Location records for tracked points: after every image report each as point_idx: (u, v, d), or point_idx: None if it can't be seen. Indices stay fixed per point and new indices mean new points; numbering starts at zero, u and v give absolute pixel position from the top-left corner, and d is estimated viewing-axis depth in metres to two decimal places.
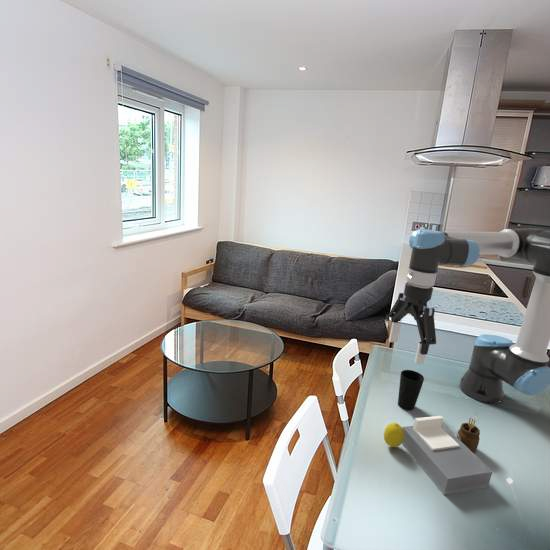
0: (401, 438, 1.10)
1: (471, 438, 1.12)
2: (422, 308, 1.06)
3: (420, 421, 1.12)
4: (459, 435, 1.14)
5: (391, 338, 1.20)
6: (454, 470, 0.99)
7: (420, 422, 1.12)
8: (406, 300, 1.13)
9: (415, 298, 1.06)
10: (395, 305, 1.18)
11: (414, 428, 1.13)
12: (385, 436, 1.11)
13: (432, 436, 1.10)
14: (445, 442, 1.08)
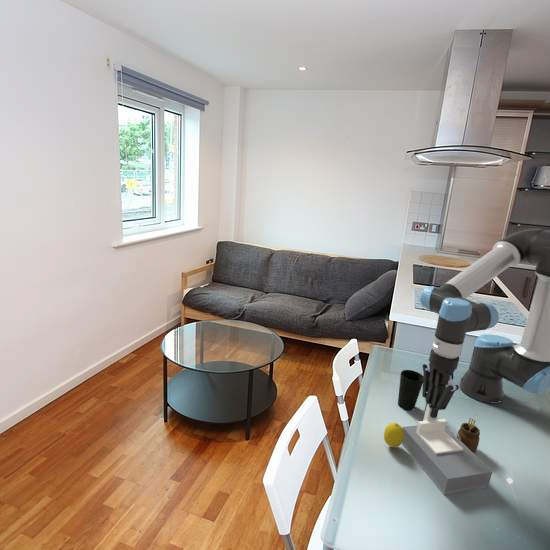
0: (401, 438, 1.10)
1: (471, 438, 1.12)
2: (448, 378, 1.05)
3: (423, 424, 1.11)
4: (459, 435, 1.14)
5: (426, 420, 1.13)
6: (454, 470, 0.99)
7: (423, 425, 1.11)
8: (431, 366, 1.11)
9: (441, 368, 1.05)
10: (424, 380, 1.14)
11: (417, 431, 1.12)
12: (385, 436, 1.11)
13: (435, 440, 1.09)
14: (449, 446, 1.07)
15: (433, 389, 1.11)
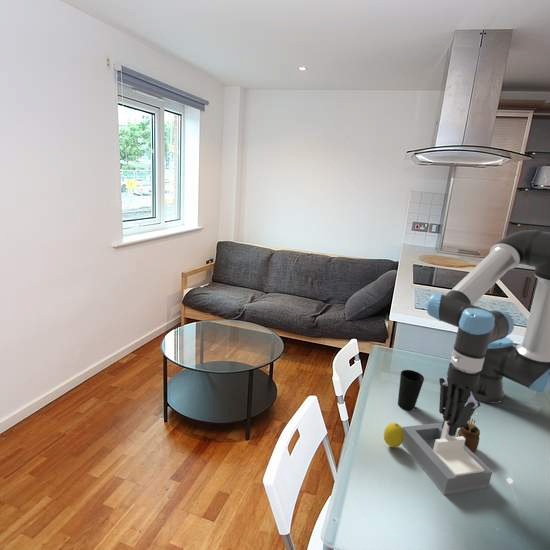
0: (401, 438, 1.10)
1: (471, 438, 1.12)
2: (469, 394, 0.98)
3: (441, 443, 1.04)
4: (459, 435, 1.14)
5: (443, 438, 1.06)
6: None
7: (441, 444, 1.04)
8: (449, 380, 1.04)
9: (461, 383, 0.98)
10: (441, 395, 1.07)
11: (434, 450, 1.05)
12: (385, 436, 1.11)
13: (454, 459, 1.02)
14: (469, 466, 1.00)
15: (451, 405, 1.04)
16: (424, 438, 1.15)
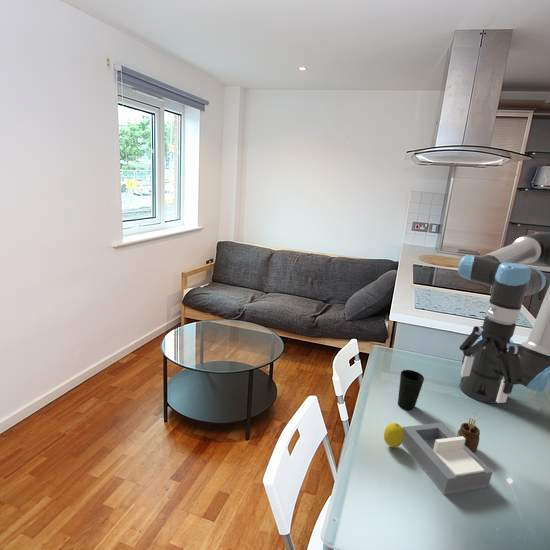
0: (401, 438, 1.10)
1: (471, 438, 1.12)
2: (505, 345, 1.02)
3: (441, 443, 1.04)
4: (459, 435, 1.14)
5: (463, 372, 1.15)
6: None
7: (441, 444, 1.04)
8: (484, 335, 1.08)
9: (498, 335, 1.02)
10: (469, 338, 1.13)
11: (434, 450, 1.04)
12: (385, 436, 1.11)
13: (454, 459, 1.02)
14: (469, 466, 1.00)
15: (476, 349, 1.11)
16: (424, 438, 1.15)
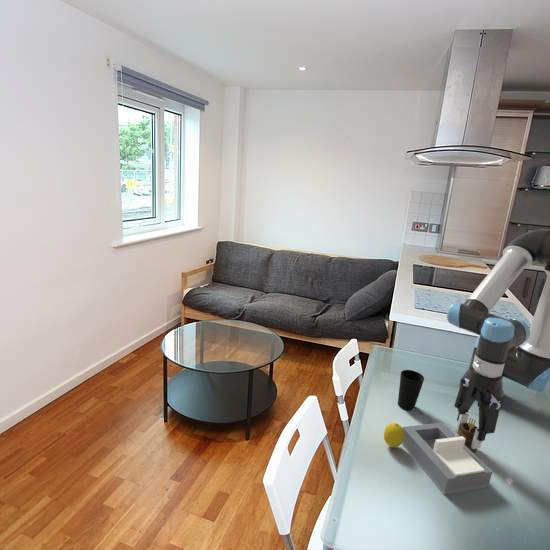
0: (401, 438, 1.10)
1: (471, 438, 1.12)
2: (490, 397, 1.06)
3: (441, 443, 1.04)
4: (459, 435, 1.14)
5: (458, 430, 1.17)
6: None
7: (441, 444, 1.04)
8: (470, 384, 1.12)
9: (483, 387, 1.06)
10: (459, 393, 1.16)
11: (434, 450, 1.04)
12: (385, 436, 1.11)
13: (454, 459, 1.02)
14: (469, 466, 1.00)
15: (468, 403, 1.14)
16: (424, 438, 1.15)
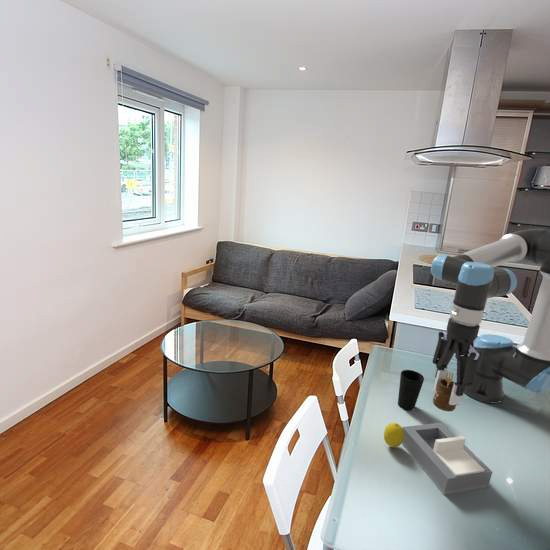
0: (401, 438, 1.10)
1: (449, 394, 1.04)
2: (469, 347, 0.98)
3: (441, 443, 1.04)
4: (437, 392, 1.07)
5: (436, 387, 1.09)
6: None
7: (441, 444, 1.04)
8: (448, 336, 1.05)
9: (461, 336, 0.99)
10: (438, 347, 1.09)
11: (434, 450, 1.04)
12: (385, 436, 1.11)
13: (454, 459, 1.02)
14: (469, 466, 1.00)
15: (447, 357, 1.06)
16: (424, 438, 1.15)
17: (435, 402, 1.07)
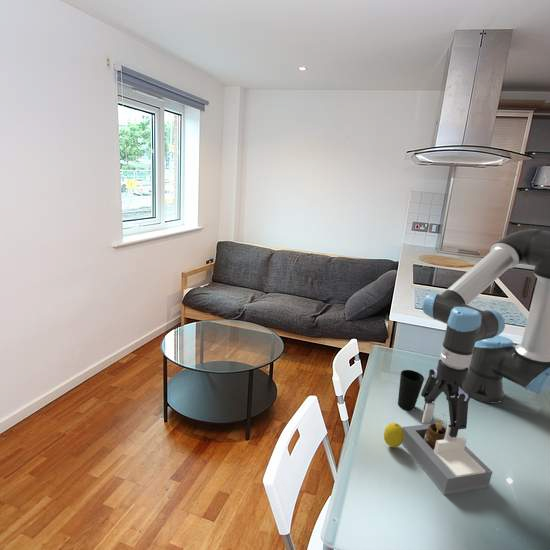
0: (401, 438, 1.10)
1: (438, 439, 1.08)
2: (457, 390, 1.02)
3: (442, 444, 1.03)
4: (426, 436, 1.10)
5: (424, 419, 1.14)
6: None
7: (442, 445, 1.03)
8: (439, 376, 1.08)
9: (450, 379, 1.02)
10: (427, 383, 1.13)
11: (435, 451, 1.04)
12: (385, 436, 1.11)
13: (455, 460, 1.02)
14: (470, 467, 1.00)
15: (435, 394, 1.10)
16: None
17: None
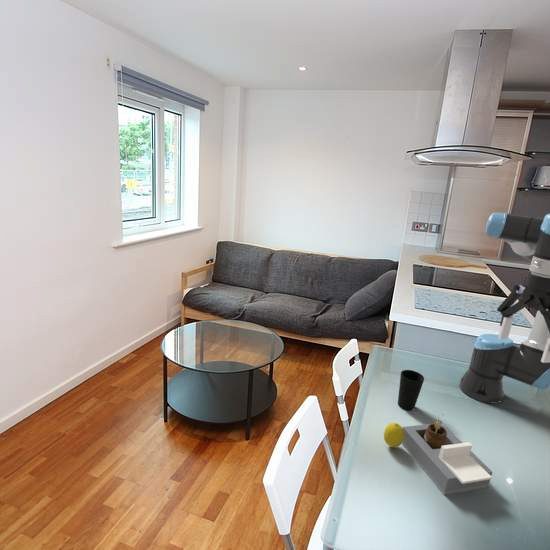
0: (401, 438, 1.10)
1: (437, 439, 1.08)
2: None
3: (447, 449, 1.01)
4: (426, 436, 1.11)
5: (502, 335, 1.09)
6: None
7: (447, 450, 1.01)
8: (526, 293, 1.02)
9: (544, 290, 0.96)
10: (508, 298, 1.07)
11: (440, 457, 1.02)
12: (385, 436, 1.11)
13: (461, 466, 1.00)
14: (476, 473, 0.98)
15: (517, 309, 1.06)
16: None
17: None
